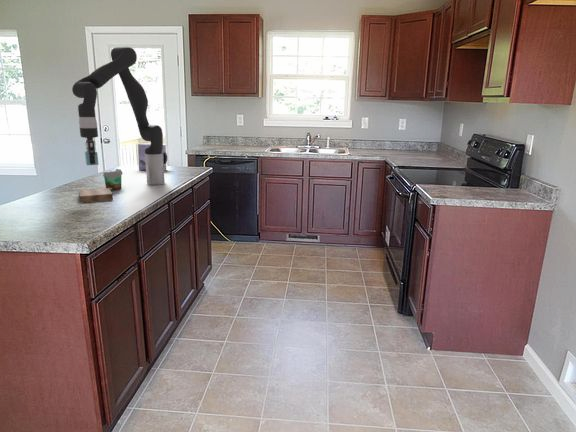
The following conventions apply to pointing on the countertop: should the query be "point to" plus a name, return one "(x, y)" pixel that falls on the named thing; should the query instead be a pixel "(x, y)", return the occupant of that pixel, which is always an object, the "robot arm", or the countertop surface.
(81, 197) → the walnut base
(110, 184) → the food container
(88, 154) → the teal block
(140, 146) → the cake pan box
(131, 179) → the countertop surface
